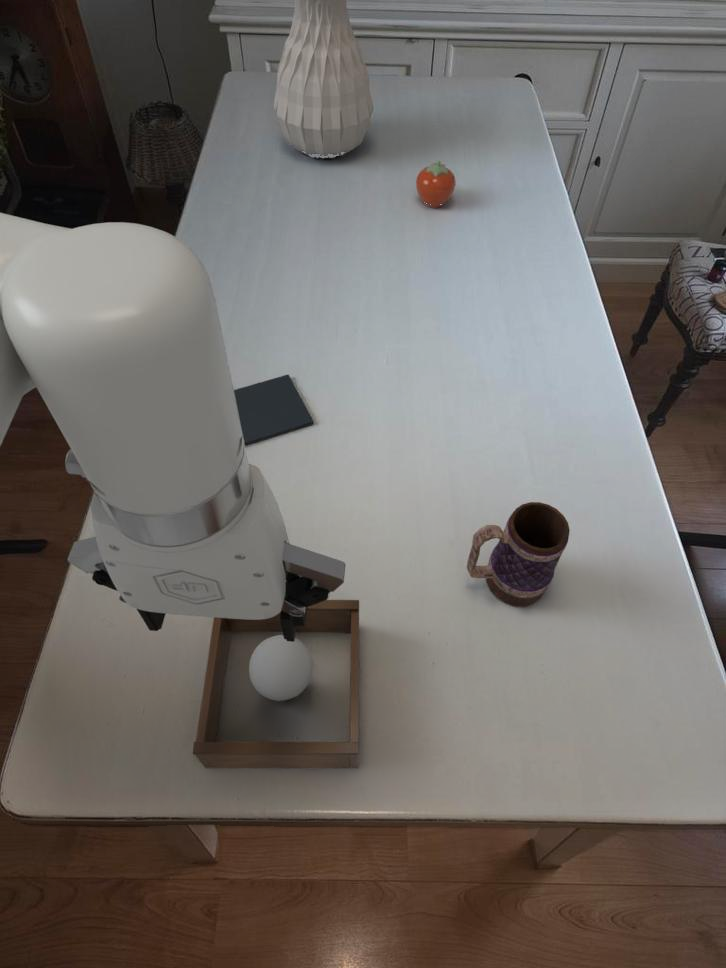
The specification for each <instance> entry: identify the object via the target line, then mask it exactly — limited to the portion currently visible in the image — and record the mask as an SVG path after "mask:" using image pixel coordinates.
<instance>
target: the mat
mask: <svg viewBox="0 0 726 968" xmlns="http://www.w3.org/2000/svg"><path fill="white" fill-rule="evenodd" d="M234 393H235V398H236V403H237V408H238V413H239V419H240V424H241V429H242V434H243V438H244V443H245V447H246V446H249V445H252V444H255V443H258V442H261V441H262V442H263V441H264V440H268V439H272V438H275V437H277V436H280V435H283V434H288V433H290V432H294V431H296V430H300V429H303V428H306V427H309V426H312V425H314V424H315V421H314V420H313V418H312V416H311V414H310V412H309V410H308V409H307V406H306V405H305V403H304V401H303V398H302V396H301V395H300V393H299V392H298V389H297V388H296V385H295V383H294V382H293V380H292V379H291V377H290V375H289V374H285V375H281V376H278V377H274V378H271V379H268V380H267V379H266V380H264V381H261V382H260V381H259V382H257V383H253V384H250V385H246V386H243V387H240V388H237V389H234Z"/></svg>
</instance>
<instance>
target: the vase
mask: <svg viewBox="0 0 726 968" xmlns="http://www.w3.org/2000/svg"><path fill="white" fill-rule="evenodd" d="M293 10H294V11H293V17H292V23H291V25H290V26H291V27H290V31H289V35H288V36H287V38H286V40H285V43H284V45H283V49H282V54H281V58H280V59H279V62H278V68H277V74H276V88H275V93H274V99H273V100H274V101H273V109H274V112H275V116H276V119H277V122H278V125H279V128H280V131H281V134H282V136H283V138H284V140H285V142H286V143H287V144H288V145H289V146H291V145H293V147H292V148H293V149H295V150H296V151H298V152H300V151H305V152H306V154H311V155H312V154H320V156H322V155H324V156H327V155H328V154H333V155H337V154H339V156H340V158H341V157H343V156H345V155H346V154H348V153H349V152H352V151H354V150H355V149H356V148H357V147H359V146H360V145H361V144H362V143H363V141H364V138H365V136H366V133H367V131H368V128H369V126H370V122H371V119H372V116H373V112H374V102H373V99H372V94H371V90H370V77H369V74H368V69H367V68H368V67H367V65H366V62H365V60H364V58H363V52H362V50H361V47H360V44H359V42H358V40H357V38H356V36H355V34H354V33H355V32H354V29H353V27H352V24H351V21H350V16H349V12H348V8H347V0H294V9H293ZM354 148H355V149H354ZM351 150H352V151H351ZM341 152H345V154H343V155H341Z"/></svg>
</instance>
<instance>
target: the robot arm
mask: <svg viewBox="0 0 726 968" xmlns="http://www.w3.org/2000/svg"><path fill="white" fill-rule="evenodd" d="M220 319H221V318H220V315H219V311H218V306H217V301H216V297H215V292H214V289H213V285H212V282H211V278H210V275H209V273H208V271H207V269H206V267H205V265H204V264H203V262H202V261H201V259H200V258H199V257H198V255H197V254H196V253H195V251H194V250H193V249H192V248H191V247H190V246H188V245H187V244H186V243H184V241H182V240H181V239H179V238H178V237H177V236H175V235H173V234H172V233H170V232H167V231H165V230H162V229H159V228H155V227H153V226H149V225H145V224H141V223H135V222H124V221H120V222H119V221H117V222H114V221H113V222H111V221H108V222H100V223H99V222H98V223H92V224H86V225H82V226H78V227H73V228H71V227H70V228H69V227H64V226H59V225H55V224H50V223H49V224H48V223H44V222H40V221H36V220H32V219H28V218H23V217H20V216H15V215H12V214H7V213H4V212H0V447H1V446H2V444H3V441H4V439H5V437H6V435H7V433H8V430H9V428H10V427H11V424H12V421H13V419H14V417H15V415H16V412H17V410H18V408H19V407H20V403H21V401H22V399H23V397H24V395H27V393H29V392H30V391H32V390H33V389H37V391H38V393H39V395H40V396H41V398H42V400H43V402H44V403H45V405H46V407H47V409H48V411H49V412H50V415H51V416H52V418H53V419H54V421H55V424H56V425H57V427H58V428H59V430H60V432H61V434H62V436H63V437H64V439H65V441H66V443H67V444H68V446H69V448H70V449H68V451H67V452H66V454H65V461H64V464H65V465H64V466H65V467H64V468H65V471H66V472H67V474H68V475H71V476H81V477H82V478H83V479H86V482H89V484H90V487H91V490H93V492H94V493H93V495H92V497H91V502H90V512H91V519H92V525H93V530H94V536H92V537H88V538H83V539H79V540H76V541H74V542H73V544H72V547H71V549H70V552H69V554H68V557H67V559H66V560H67V562H68V563H69V564H71V565H73V566H75V567H76V568H78V569H79V570H81V571H82V572H84V573H85V574H91V575H92V577H91V579H92V581H93V582H94V583H95V584H97V585H98V586H104V587H106V588H108V589H111V590H113V591H116V592H118V595H119V598H118V599H119V601H120V602H122V603H124V604H127V605H129V606H130V607H132V608H134V609H136V611H137V612H138V614H139V615H140V618H141V619H142V620H143V622H144V623H145V625H146V627H147V629H148V630H149V631H152V632H158V631H159V630H162V629H163V624H164V621H165V617H166V614H168V615H179V616H180V615H181V616H191V617H202V618H203V617H205V618H214V617H216V618H231V619H248V620H261V619H268V618H271V617H274V616H276V615H277V614H279V613H280V612H281V614H280V621H281V626H282V631H283V632H282V635H283V636H284V639H286V640H287V641H291V642H294V640H295V638H296V633H297V632H296V626H305V623H306V615H307V607H309V606H312V605H314V604H317V603H319V602H322V601H325V600H329V594H330V593H331V592H332V593H333V592H335V591H336V590H337V589H338V588H339V587H341V586H342V585H343V584H344V582H345V576H346V575H345V574H346V566H347V565H346V563H345V562H344V561H342V560H339V559H337V558H333V557H330V556H328V555H324V554H322V553H318V552H315V551H312V550H310V549H307V548H304V547H300V546H297V545H294V544H291V543H290V539H289V535H288V532H287V527H286V525H285V520H284V517H283V515H282V511H281V509H280V506H279V503H278V502H277V499H276V497H275V494H274V492H273V491H272V488H271V486H270V485H269V483H268V481H267V479H266V478H265V476H264V474H263V473H262V471H261V470H260V467H258V466H256V465H254V464H251V463H250V462H249V458H248V453H247V449H246V446H245V443H244V438H243V434H242V429H241V424H240V419H239V413H238V408H237V403H236V398H235V393H234V390H235V389H234V384H233V379H232V374H231V369H230V364H229V360H228V354H227V349H226V344H225V339H224V334H223V329H222V324H221V320H220Z"/></svg>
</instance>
